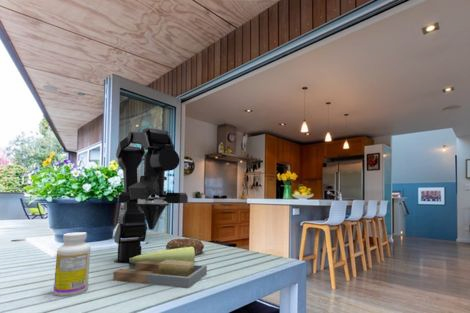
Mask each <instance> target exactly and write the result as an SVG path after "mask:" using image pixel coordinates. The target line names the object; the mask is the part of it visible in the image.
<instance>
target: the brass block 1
mask: <svg viewBox="0 0 470 313" xmlns="http://www.w3.org/2000/svg"><path fill="white" fill-rule="evenodd" d="M177 262H179V261H178V260H165V261H163V262H160V263H159V274H161V275H173V264H175V263H177Z"/></svg>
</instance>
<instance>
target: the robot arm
mask: <svg viewBox="0 0 470 313" xmlns="http://www.w3.org/2000/svg"><path fill="white" fill-rule="evenodd" d="M169 133H170V132H169V131H168V130H167V129H166V130H164V129H158V128H151V127H145V128H144V129H142V130H141V131H134V130H133V131H129V132H128V134H127V136H126V137H125V138H123V139H122V140H120V141H119V144H118V146H117V148H116V154H115V156H116V157H115V158H116V159H117V165H118V166H119V168H120V169H121V170H122V175H123V176H122V178H123V191H121V192H120V193H119V194H118V199H117V203H123V213H122V215H121V217H120V218H119V221H118V225H117V227H116V230H115V233H114V243H116V244H117V259H115V260H113V263H118V264H119V263H120V264H130V265H131V264H132V265H133V263H132V262H131V263H130V259H129V258H133V257H135V256H139V255H142V246H141V242H145V240H146V236H147V231H148V230H155V227H156V226H157V223H158V221H159V220H160V217H161V216H162V213H163V212H164V210H165V208H166V207H169V205H170V204H188V201H189V199H188V198H189V196H188V194H187V193H186V192H167V191H166V190H165V181H167V179H168V177H167V176H165V174H166V173H165V172H169V171H170V172H171V171H174V170H176V169H177V168H178V166H179V164H180V162H181V161H180V156H179V154H178V152H177V151H176V150H175V145H174V143H173V141H172V137H171V135H170V134H169ZM131 144H135V145H140V146H141V147H138V146H132V145H131ZM130 145H131V146H130ZM142 159H144V161H143V175H140V177H139V180H138V168H139V167H140V165H141V163H142ZM140 209H141V210H142V211H143V212H142V211H141V210H140ZM147 229H148V230H147Z"/></svg>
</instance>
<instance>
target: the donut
mask: <svg viewBox="0 0 470 313" xmlns="http://www.w3.org/2000/svg"><path fill="white" fill-rule="evenodd" d="M185 247H194V250H195V256H196V255H199V254H200V253H202V252H203V249H205V245H204V243H202V241H201V239H200V240H199V239H196V238H185V237H184V238H175V239H170V240H169V241H168V242H167V244H166V245H165V250H170V249H177V248H185Z"/></svg>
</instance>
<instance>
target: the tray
mask: <svg viewBox="0 0 470 313" xmlns="http://www.w3.org/2000/svg"><path fill="white" fill-rule="evenodd" d="M207 269H208V266H207V265H203V264H194V273H192V274H191V275H189V276H188V277H184V276H173V275H161V274H150V273H149V274H147V284H146V285H153V286H163V287H172V288H174V287H175V288H182V289H184V288H185V289H190V288H191V287H192V286H194V285H195V284H196V283H197V282H198V281H199V280H201V279H202V278H203V277H205V276H206V275H207V271H208V270H207Z"/></svg>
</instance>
